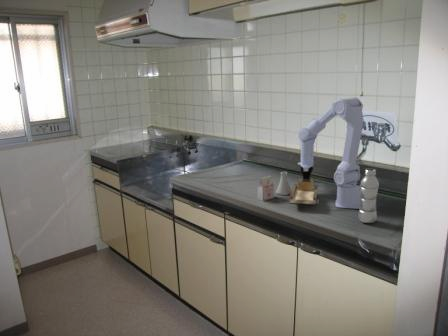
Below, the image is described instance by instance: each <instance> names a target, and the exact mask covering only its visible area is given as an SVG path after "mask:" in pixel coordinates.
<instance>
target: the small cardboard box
mask: <svg viewBox="0 0 448 336" xmlns="http://www.w3.org/2000/svg"><path fill="white" fill-rule="evenodd" d="M292 187H293V188H292V189H291V191H292V192H291V194H289V204H290V203H304V204H303V205H306V204H316V199H317V197H318V184H317V185H316V184H315V186H314V187H313V188H312V191H300V190H298V184H296V183H295V184H294V185H293V186H292Z"/></svg>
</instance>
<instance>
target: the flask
mask: <svg viewBox="0 0 448 336" xmlns="http://www.w3.org/2000/svg"><path fill="white" fill-rule="evenodd" d="M289 183H290V182H289V180H288V172H287V171H281V172H280V179H279V184H278V185H277V189H276V191H275V194H277V195H280V196H290V195H291V192H292V189H291V186H290V184H289Z"/></svg>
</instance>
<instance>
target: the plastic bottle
mask: <svg viewBox="0 0 448 336" xmlns="http://www.w3.org/2000/svg"><path fill="white" fill-rule="evenodd" d="M376 175H377V169H375V168H372V167H371V168H368V167H367V168H365V169H364V177H362V179H361V180H360V186H361V203H360V209H359V210H358V214H357V215H358V220H359V221H360V222H361V223H365V224H374V223H375V222H376V220H377V217H378V214H377V213H378V212H377V197H378V191H379V187H380V183H379V180H378V178H377V177H376Z"/></svg>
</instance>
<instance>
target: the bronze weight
mask: <svg viewBox="0 0 448 336" xmlns="http://www.w3.org/2000/svg"><path fill="white" fill-rule="evenodd" d="M313 181H314V180H313V178H310V179H303V178H299V179H298V181H297V182H298V184H297V187H298V190H300V191H312V188H314V187H313V185H314V184H313V183H314V182H313Z"/></svg>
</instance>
